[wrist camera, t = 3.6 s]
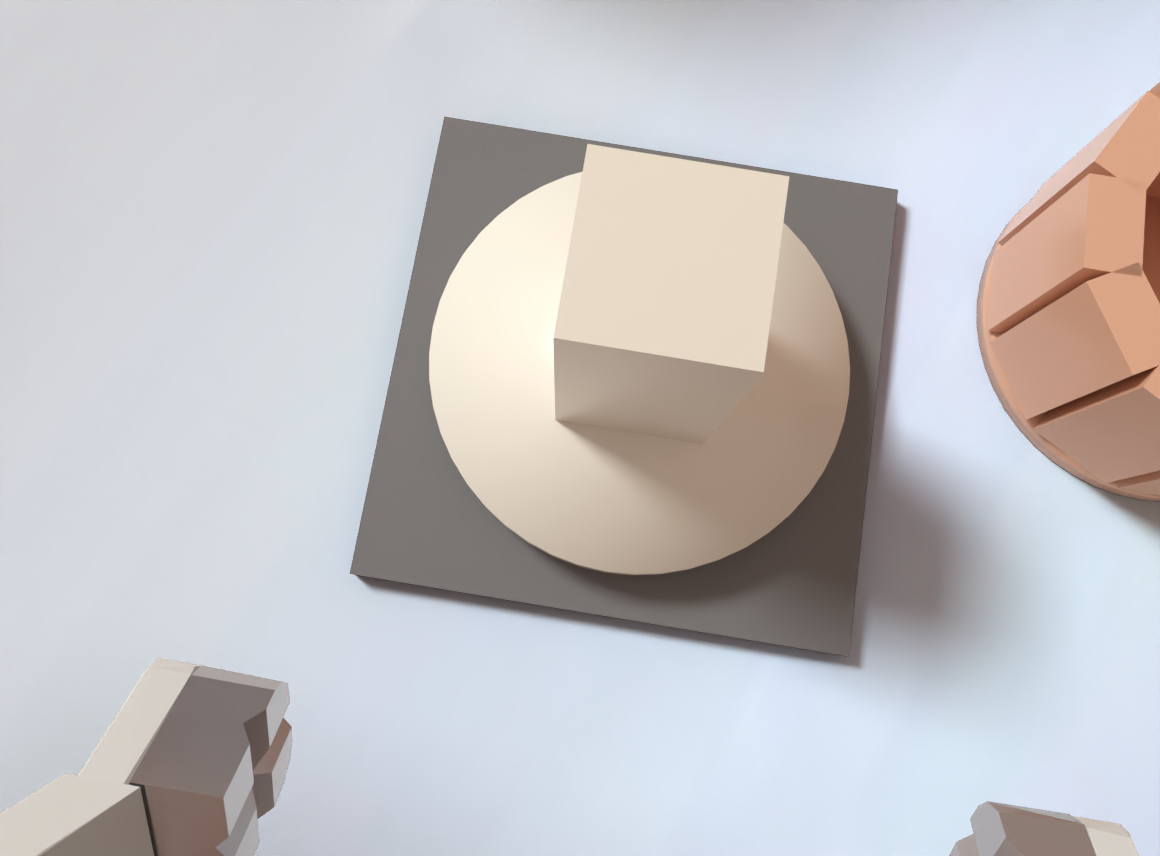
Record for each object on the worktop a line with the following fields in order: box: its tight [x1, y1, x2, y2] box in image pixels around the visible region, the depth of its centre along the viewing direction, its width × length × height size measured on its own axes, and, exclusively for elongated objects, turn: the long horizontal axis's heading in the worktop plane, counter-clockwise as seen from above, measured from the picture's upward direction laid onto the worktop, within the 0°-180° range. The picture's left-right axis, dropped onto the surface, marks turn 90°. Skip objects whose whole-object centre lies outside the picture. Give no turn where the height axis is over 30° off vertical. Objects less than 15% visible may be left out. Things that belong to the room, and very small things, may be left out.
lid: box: [429, 144, 850, 576], centre depth 20 cm, size 10×10×8 cm
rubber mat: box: [350, 117, 898, 656], centre depth 24 cm, size 12×12×1 cm
